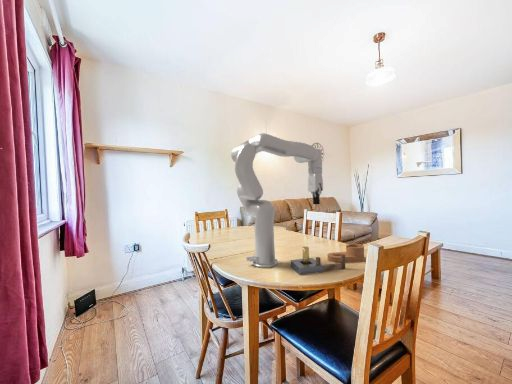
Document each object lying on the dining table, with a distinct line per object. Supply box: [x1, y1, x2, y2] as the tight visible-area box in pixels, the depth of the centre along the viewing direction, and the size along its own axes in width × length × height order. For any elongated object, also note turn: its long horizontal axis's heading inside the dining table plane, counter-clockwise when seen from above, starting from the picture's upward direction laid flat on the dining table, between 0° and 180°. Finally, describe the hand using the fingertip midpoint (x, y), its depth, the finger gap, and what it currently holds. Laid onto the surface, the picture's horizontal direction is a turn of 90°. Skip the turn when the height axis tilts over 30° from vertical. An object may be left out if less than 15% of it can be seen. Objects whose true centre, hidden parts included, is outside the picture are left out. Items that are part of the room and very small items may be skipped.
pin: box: [301, 246, 310, 265], centre depth 106 cm, size 3×3×10 cm
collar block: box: [290, 257, 324, 276], centre depth 106 cm, size 11×11×3 cm
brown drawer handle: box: [315, 254, 347, 272], centre depth 104 cm, size 14×2×6 cm, turn 101°
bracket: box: [326, 243, 365, 264], centre depth 117 cm, size 18×8×7 cm, turn 92°
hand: (316, 204), depth 131 cm, fingers closed
